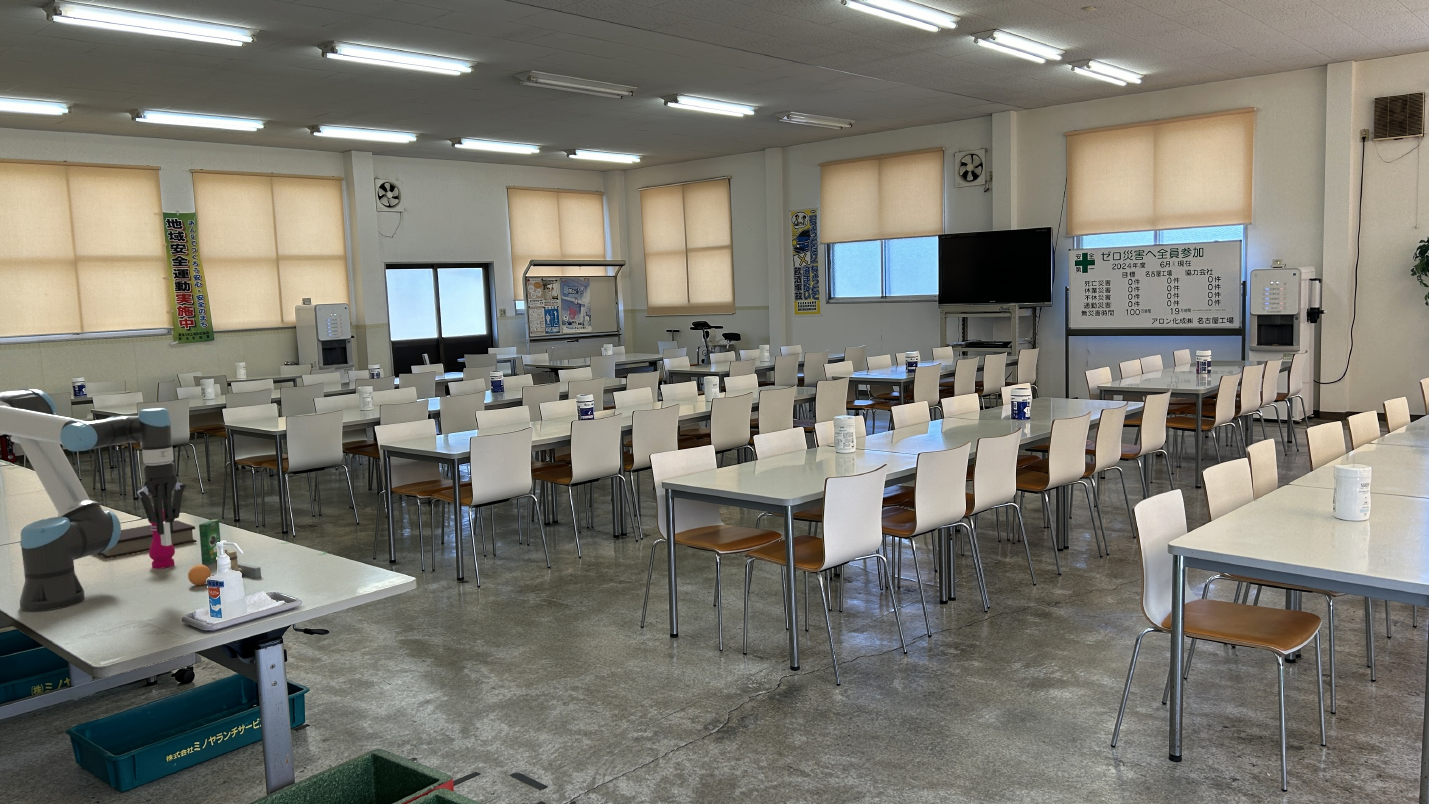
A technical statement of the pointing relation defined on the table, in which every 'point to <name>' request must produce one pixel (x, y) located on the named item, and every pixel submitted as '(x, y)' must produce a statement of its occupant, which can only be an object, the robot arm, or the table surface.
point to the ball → (199, 574)
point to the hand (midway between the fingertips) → (166, 544)
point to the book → (147, 539)
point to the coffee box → (209, 540)
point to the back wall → (250, 570)
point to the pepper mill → (160, 550)
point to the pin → (233, 560)
